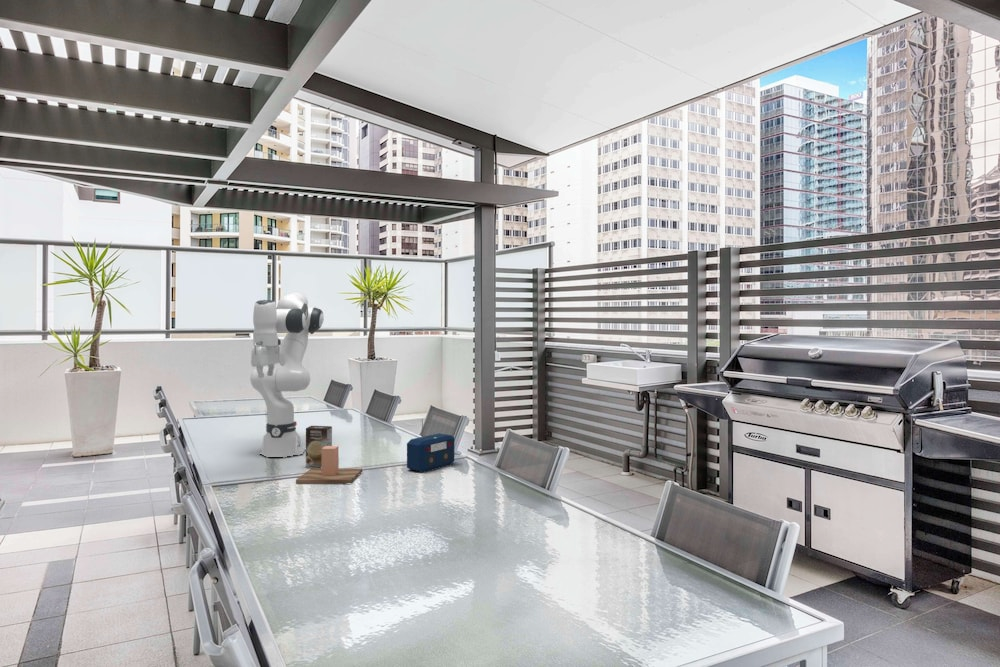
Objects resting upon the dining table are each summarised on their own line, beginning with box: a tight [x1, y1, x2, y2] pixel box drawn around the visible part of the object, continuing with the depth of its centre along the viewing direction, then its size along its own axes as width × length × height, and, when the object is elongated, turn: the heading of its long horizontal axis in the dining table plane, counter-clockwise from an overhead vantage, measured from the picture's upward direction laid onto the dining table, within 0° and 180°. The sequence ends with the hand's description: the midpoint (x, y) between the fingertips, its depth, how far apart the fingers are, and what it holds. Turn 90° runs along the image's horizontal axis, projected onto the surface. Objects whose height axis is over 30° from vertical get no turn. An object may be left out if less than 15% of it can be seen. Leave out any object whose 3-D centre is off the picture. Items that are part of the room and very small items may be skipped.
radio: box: [406, 419, 455, 473], centre depth 258 cm, size 21×9×20 cm, turn 143°
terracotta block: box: [321, 445, 340, 476], centre depth 241 cm, size 5×5×10 cm
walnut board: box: [295, 467, 363, 485], centre depth 241 cm, size 18×20×2 cm
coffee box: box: [305, 425, 333, 468], centre depth 260 cm, size 9×6×16 cm
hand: (265, 376), depth 250 cm, fingers open, 8 cm apart
